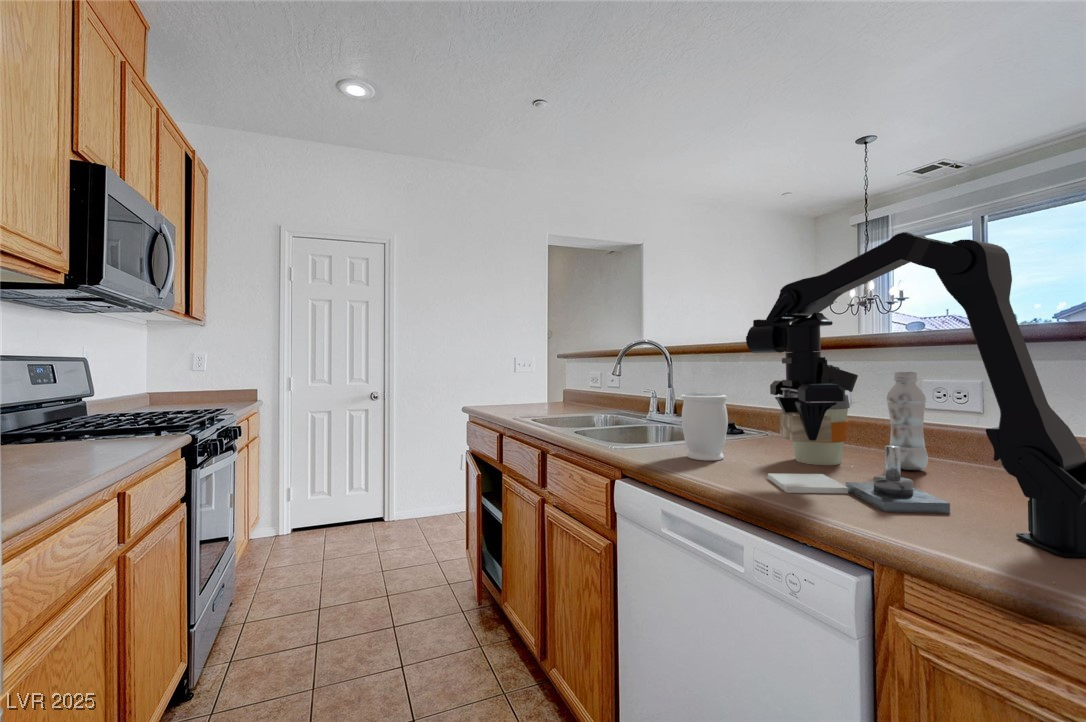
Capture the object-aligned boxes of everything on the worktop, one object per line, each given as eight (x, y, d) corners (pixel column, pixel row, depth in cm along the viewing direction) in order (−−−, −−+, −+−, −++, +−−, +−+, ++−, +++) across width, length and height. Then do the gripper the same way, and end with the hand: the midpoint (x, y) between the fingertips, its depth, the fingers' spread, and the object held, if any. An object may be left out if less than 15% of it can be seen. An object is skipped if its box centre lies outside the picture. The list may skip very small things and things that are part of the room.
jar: (673, 455, 119) (672, 394, 118) (709, 452, 122) (708, 392, 122) (700, 463, 108) (698, 397, 108) (738, 460, 111) (737, 395, 111)
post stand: (950, 513, 72) (948, 454, 72) (884, 511, 73) (883, 453, 73) (901, 491, 84) (900, 440, 84) (845, 490, 85) (844, 440, 85)
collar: (831, 441, 85) (831, 416, 85) (793, 441, 86) (792, 416, 86) (816, 436, 91) (815, 412, 91) (780, 436, 92) (779, 412, 92)
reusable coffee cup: (774, 458, 113) (773, 394, 113) (815, 453, 117) (814, 391, 117) (820, 469, 101) (818, 397, 101) (865, 464, 105) (863, 394, 105)
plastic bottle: (912, 474, 95) (910, 372, 95) (879, 467, 101) (877, 372, 101) (936, 471, 97) (934, 371, 96) (903, 464, 103) (901, 371, 103)
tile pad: (848, 493, 83) (848, 487, 83) (786, 492, 84) (786, 486, 84) (822, 479, 93) (822, 473, 93) (767, 478, 94) (767, 473, 94)
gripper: (878, 349, 78) (881, 446, 78) (827, 351, 97) (828, 429, 97) (805, 351, 80) (807, 446, 80) (768, 353, 98) (770, 430, 98)
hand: (804, 437), depth 88 cm, fingers closed on collar, 6 cm apart
